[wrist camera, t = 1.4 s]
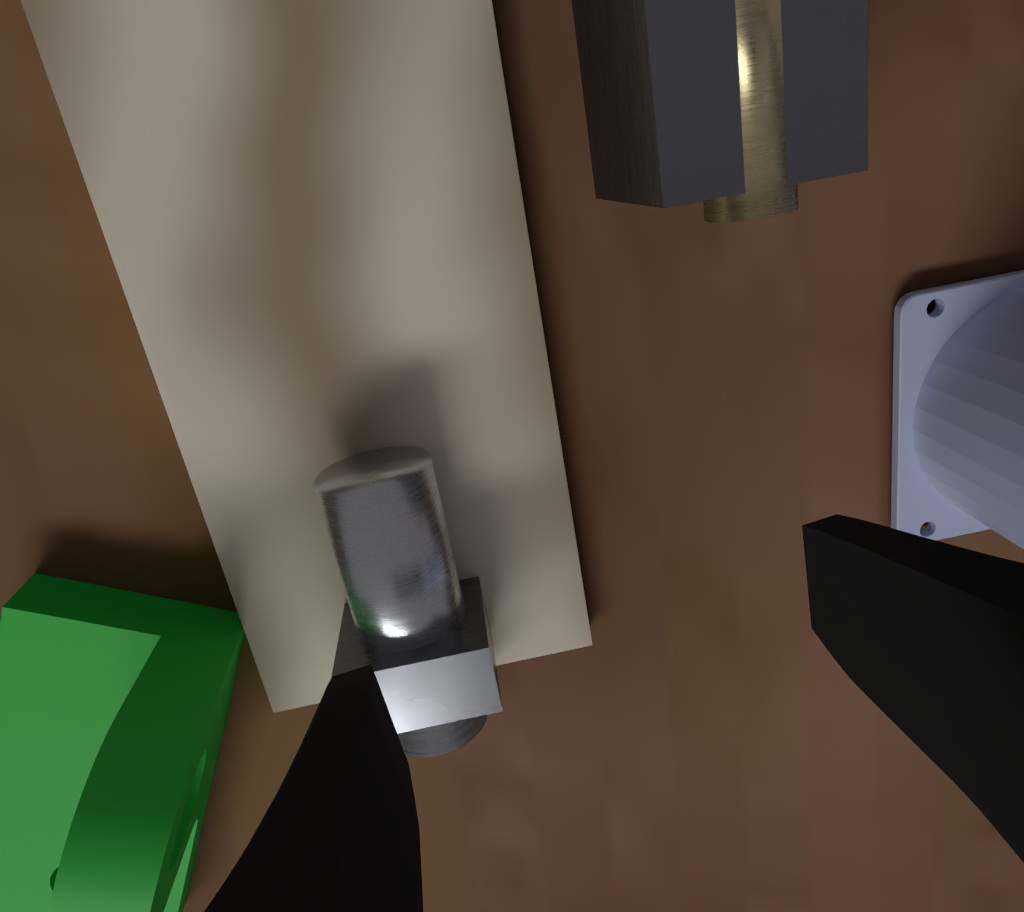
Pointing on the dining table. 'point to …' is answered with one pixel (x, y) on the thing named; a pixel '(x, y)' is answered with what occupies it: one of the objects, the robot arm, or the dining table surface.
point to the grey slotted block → (722, 100)
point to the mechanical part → (107, 744)
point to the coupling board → (327, 288)
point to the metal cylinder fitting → (408, 599)
